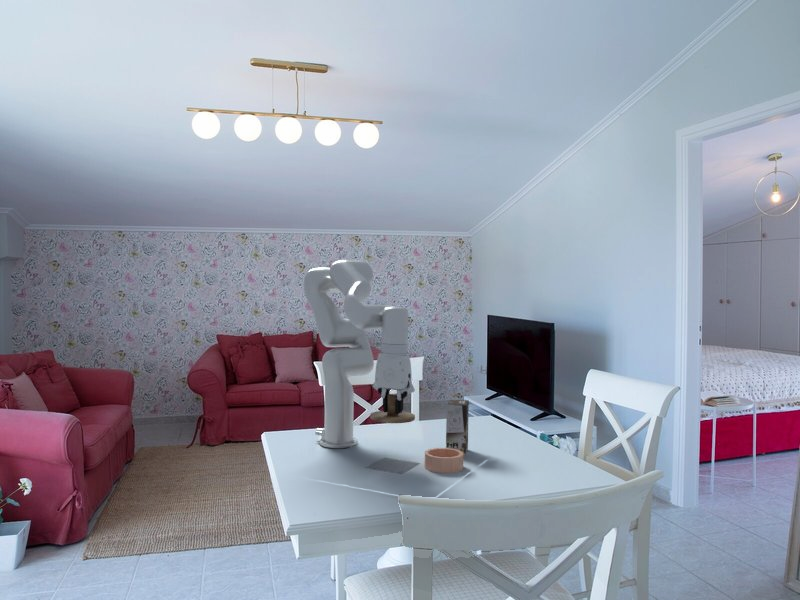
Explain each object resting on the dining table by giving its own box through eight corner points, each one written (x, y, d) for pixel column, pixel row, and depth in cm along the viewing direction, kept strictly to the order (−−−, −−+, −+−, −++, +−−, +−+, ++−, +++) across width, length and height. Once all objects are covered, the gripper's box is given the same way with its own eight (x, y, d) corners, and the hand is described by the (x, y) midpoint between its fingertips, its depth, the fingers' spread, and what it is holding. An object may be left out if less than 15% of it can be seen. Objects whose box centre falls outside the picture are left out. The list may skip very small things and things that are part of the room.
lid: (361, 419, 180) (362, 395, 179) (383, 411, 191) (384, 389, 191) (402, 425, 174) (403, 401, 173) (422, 416, 185) (422, 393, 185)
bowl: (418, 470, 179) (418, 454, 179) (433, 460, 189) (434, 446, 189) (454, 476, 174) (454, 460, 174) (468, 466, 184) (468, 451, 184)
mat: (364, 468, 180) (364, 467, 180) (384, 458, 191) (384, 457, 191) (401, 475, 174) (401, 473, 174) (420, 464, 185) (420, 463, 185)
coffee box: (465, 457, 194) (466, 405, 194) (445, 455, 195) (446, 404, 195) (468, 449, 203) (469, 399, 203) (448, 448, 204) (449, 398, 204)
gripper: (363, 348, 182) (361, 411, 183) (414, 353, 175) (412, 418, 175) (376, 346, 189) (374, 406, 189) (425, 350, 181) (423, 413, 182)
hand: (392, 411), depth 182 cm, fingers closed on lid, 3 cm apart
